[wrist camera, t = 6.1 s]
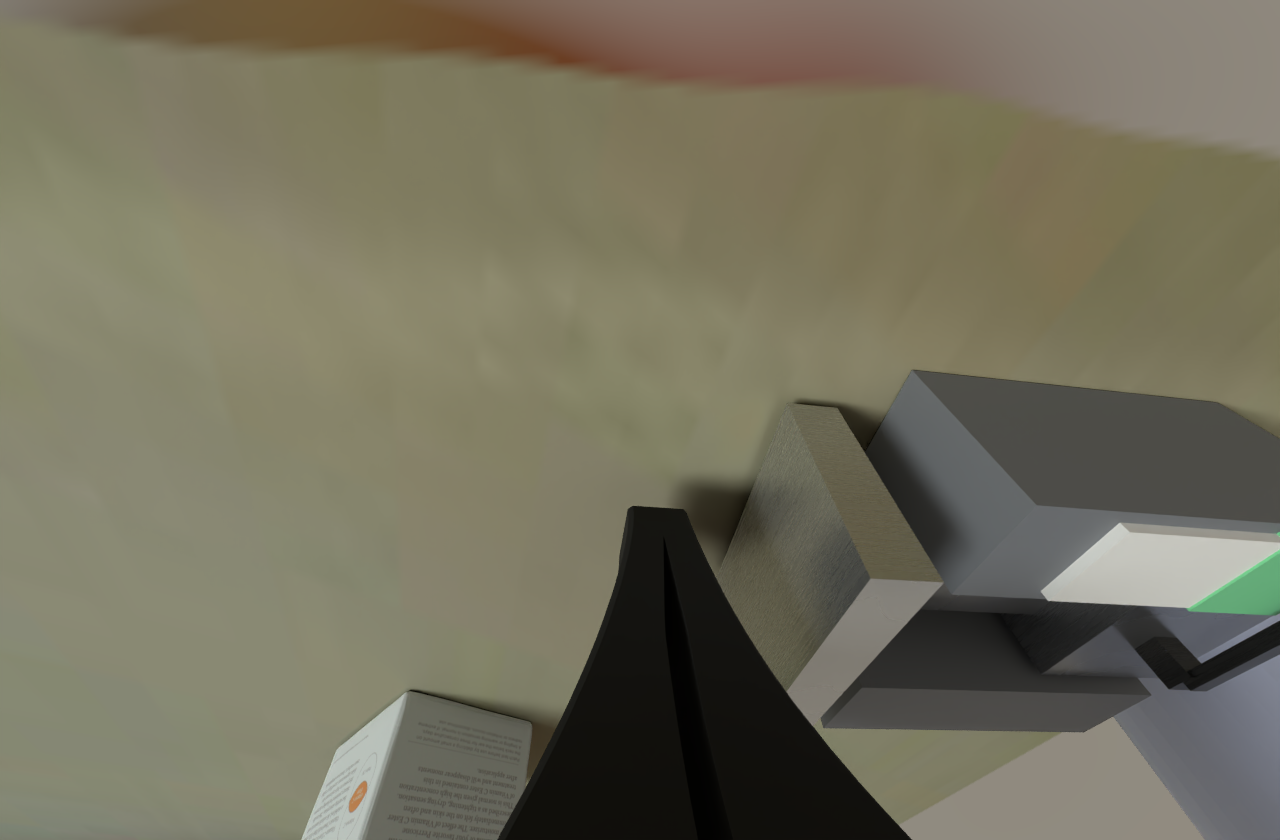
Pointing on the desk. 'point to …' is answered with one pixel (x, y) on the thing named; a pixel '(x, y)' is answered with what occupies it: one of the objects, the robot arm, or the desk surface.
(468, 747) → the small box
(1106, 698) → the gauge housing
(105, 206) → the desk surface
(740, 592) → the plunger
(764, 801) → the robot arm
